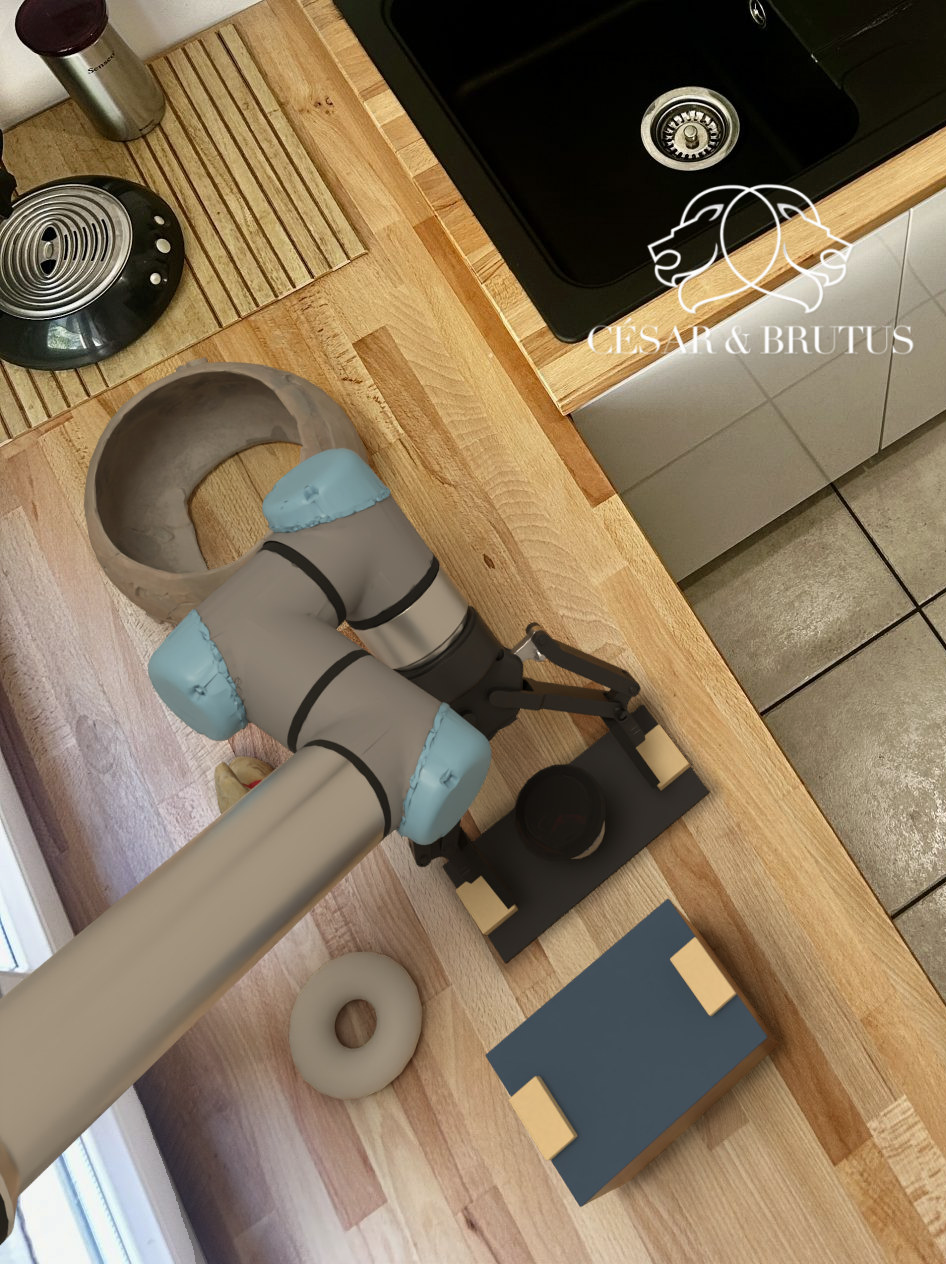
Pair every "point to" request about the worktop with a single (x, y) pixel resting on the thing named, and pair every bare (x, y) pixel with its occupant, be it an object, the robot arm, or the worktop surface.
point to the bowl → (191, 471)
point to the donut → (387, 1048)
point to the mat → (628, 830)
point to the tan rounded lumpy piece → (238, 779)
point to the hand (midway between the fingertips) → (580, 836)
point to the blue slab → (624, 1051)
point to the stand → (708, 1098)
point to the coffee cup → (560, 813)
